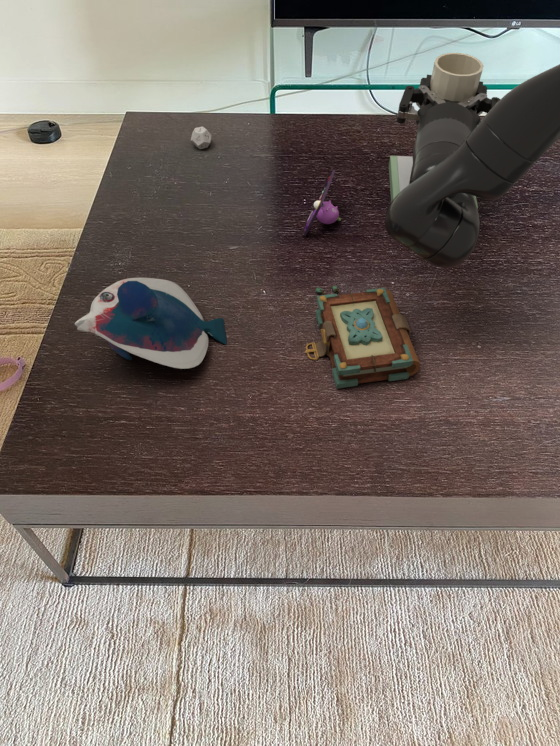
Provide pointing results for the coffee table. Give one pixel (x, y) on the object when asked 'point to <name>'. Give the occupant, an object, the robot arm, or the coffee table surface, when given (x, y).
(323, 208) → the purple winged figurine
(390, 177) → the scale
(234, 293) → the coffee table surface
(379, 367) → the decorative book
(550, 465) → the coffee table surface
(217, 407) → the coffee table surface
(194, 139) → the game die
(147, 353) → the decorative fish sculpture
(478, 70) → the cup
